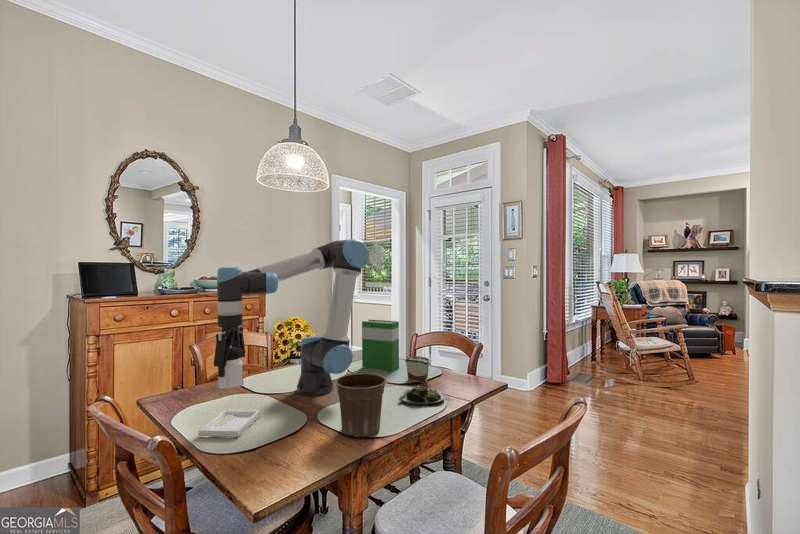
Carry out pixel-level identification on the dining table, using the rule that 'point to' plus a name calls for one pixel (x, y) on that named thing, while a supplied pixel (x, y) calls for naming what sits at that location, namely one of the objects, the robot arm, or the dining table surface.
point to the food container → (417, 368)
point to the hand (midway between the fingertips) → (230, 381)
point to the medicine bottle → (234, 369)
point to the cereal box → (380, 345)
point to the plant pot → (360, 403)
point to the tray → (230, 424)
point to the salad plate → (421, 396)
